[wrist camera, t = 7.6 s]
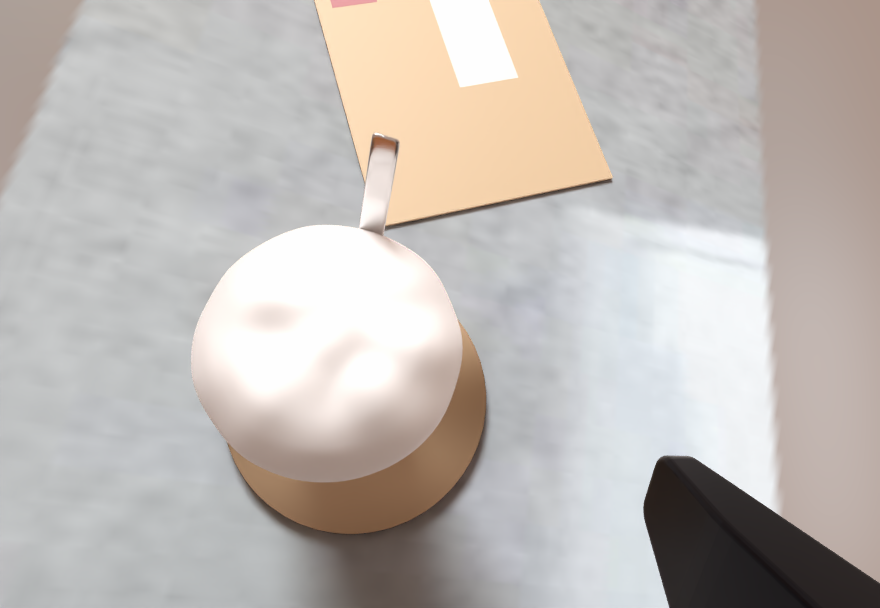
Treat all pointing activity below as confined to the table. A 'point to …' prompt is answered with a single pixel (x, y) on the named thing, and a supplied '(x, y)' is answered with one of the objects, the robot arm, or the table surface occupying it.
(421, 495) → the coaster
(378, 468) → the milkshake
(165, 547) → the table surface
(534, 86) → the envelope
